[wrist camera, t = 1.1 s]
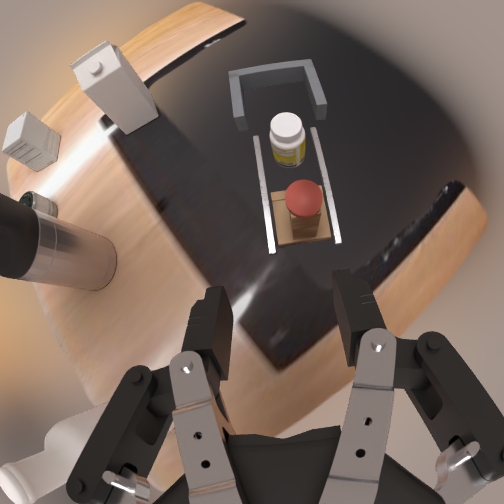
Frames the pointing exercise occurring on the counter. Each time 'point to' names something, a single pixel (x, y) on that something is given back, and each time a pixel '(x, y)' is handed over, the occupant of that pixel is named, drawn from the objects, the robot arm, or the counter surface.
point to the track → (325, 183)
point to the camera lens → (39, 203)
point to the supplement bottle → (287, 140)
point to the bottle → (51, 459)
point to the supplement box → (31, 142)
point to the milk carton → (115, 87)
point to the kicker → (300, 214)
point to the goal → (273, 76)
